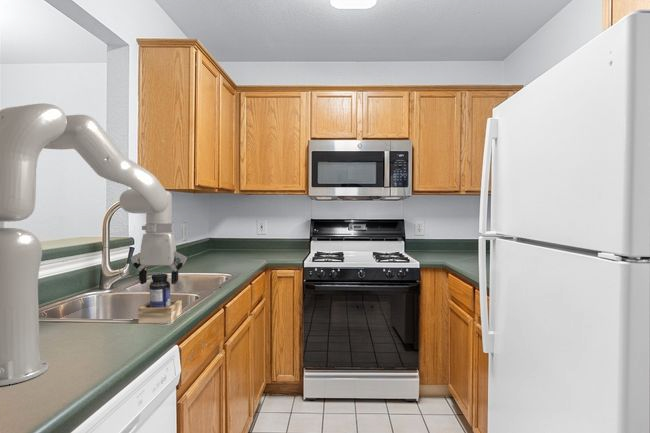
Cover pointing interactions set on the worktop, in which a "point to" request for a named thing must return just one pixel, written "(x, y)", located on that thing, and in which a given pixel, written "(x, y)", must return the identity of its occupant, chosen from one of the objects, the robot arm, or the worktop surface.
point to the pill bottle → (160, 291)
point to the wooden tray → (159, 313)
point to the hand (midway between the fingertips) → (158, 283)
